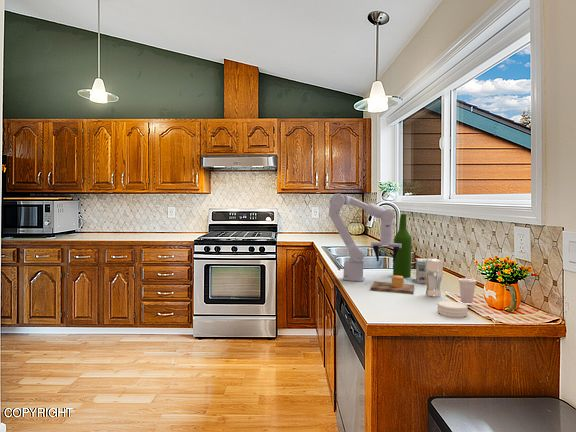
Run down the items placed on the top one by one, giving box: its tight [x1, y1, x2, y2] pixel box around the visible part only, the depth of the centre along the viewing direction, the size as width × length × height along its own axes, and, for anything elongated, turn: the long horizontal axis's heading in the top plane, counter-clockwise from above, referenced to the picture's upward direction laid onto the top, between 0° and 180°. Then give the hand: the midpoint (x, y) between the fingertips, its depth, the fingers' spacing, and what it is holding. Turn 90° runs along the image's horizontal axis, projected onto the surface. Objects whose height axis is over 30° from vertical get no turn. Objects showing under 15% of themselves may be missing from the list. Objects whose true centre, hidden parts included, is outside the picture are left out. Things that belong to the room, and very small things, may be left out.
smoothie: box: [458, 268, 477, 304], centre depth 154 cm, size 6×6×14 cm
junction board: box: [369, 281, 415, 295], centre depth 179 cm, size 18×14×4 cm
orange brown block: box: [391, 275, 404, 288], centre depth 179 cm, size 5×5×4 cm
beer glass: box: [425, 258, 444, 298], centre depth 168 cm, size 7×7×15 cm
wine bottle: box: [392, 213, 413, 279], centre depth 208 cm, size 9×9×32 cm
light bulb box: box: [415, 257, 427, 284], centre depth 197 cm, size 11×7×11 cm, turn 168°
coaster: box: [436, 300, 469, 318], centre depth 142 cm, size 10×10×4 cm
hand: (385, 261), depth 197 cm, fingers open, 7 cm apart
